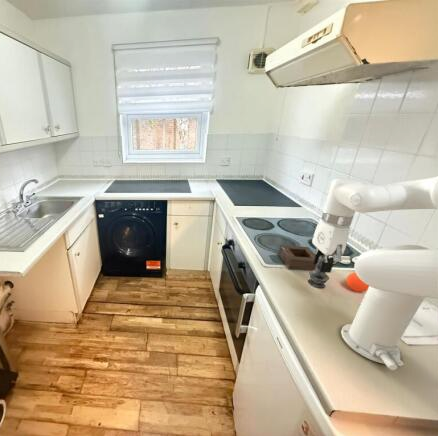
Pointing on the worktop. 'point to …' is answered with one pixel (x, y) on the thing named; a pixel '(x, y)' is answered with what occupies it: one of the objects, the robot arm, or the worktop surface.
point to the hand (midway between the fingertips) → (321, 267)
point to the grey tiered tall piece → (318, 275)
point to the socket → (297, 257)
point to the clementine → (356, 283)
